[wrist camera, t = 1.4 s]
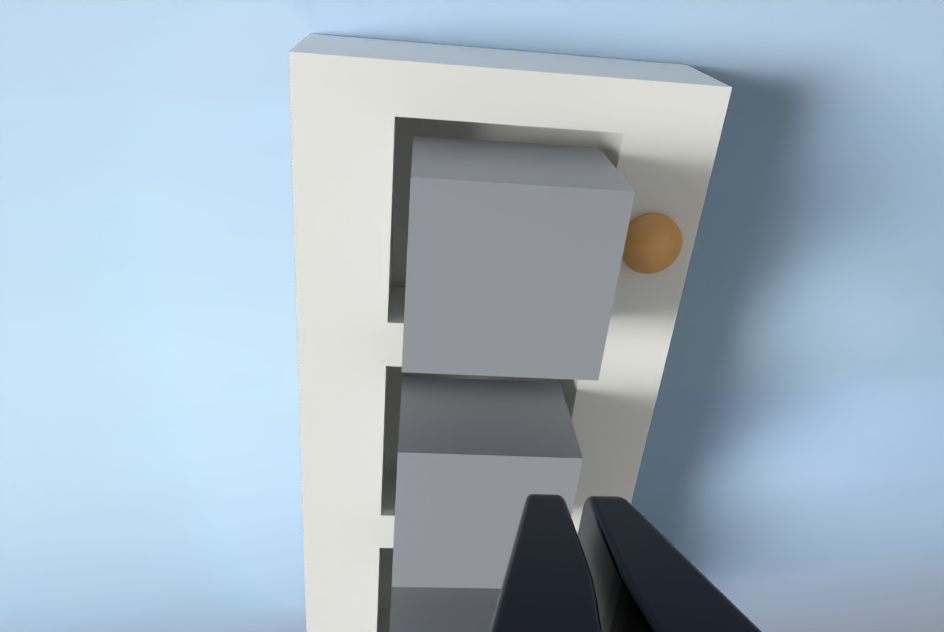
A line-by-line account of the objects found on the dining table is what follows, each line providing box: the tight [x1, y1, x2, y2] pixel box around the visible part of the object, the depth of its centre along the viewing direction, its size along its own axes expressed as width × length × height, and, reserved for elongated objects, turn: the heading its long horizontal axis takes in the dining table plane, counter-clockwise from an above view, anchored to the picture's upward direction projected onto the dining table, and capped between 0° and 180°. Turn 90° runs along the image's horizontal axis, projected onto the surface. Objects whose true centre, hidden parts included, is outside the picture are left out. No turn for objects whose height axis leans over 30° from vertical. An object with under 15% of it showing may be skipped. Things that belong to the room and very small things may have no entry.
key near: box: [402, 135, 635, 381], centre depth 15 cm, size 4×4×3 cm
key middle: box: [391, 376, 583, 589], centre depth 18 cm, size 4×4×3 cm
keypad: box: [289, 34, 732, 632], centre depth 20 cm, size 19×9×3 cm, turn 175°
